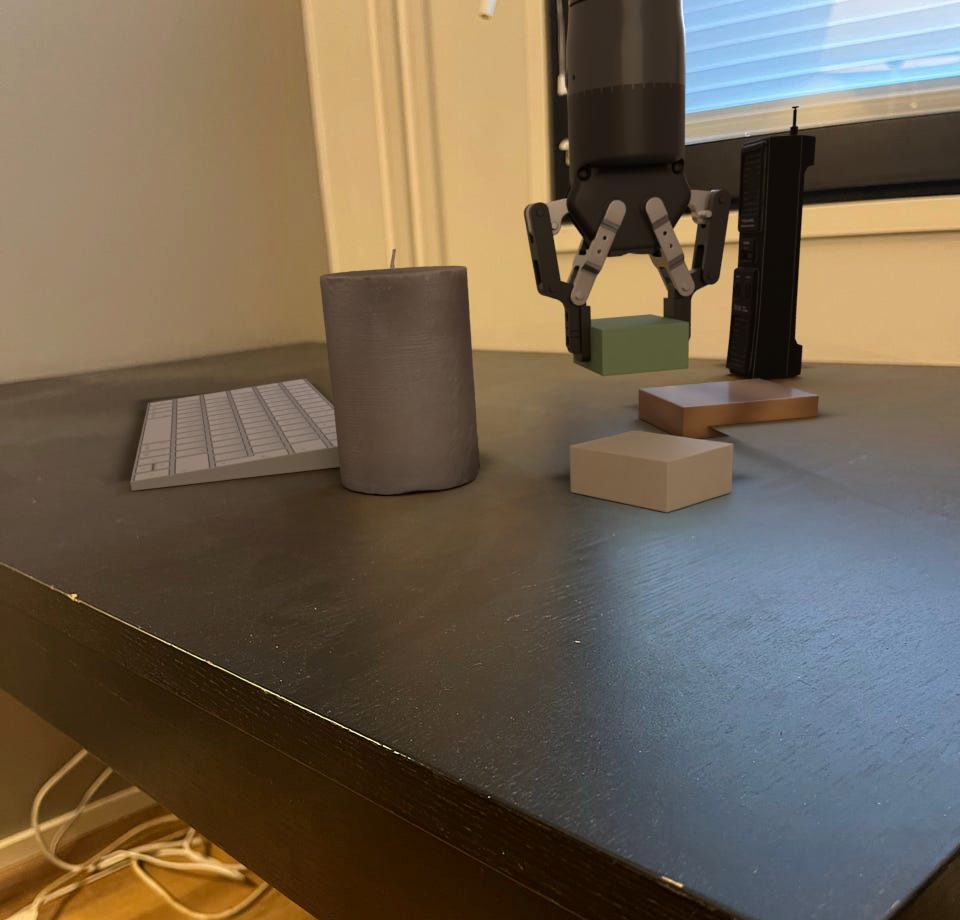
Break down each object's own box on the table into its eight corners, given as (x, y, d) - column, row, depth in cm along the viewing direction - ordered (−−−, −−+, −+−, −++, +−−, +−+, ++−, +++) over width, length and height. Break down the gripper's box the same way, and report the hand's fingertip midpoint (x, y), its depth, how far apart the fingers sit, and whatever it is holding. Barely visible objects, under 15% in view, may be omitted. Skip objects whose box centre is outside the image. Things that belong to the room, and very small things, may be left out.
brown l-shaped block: (757, 407, 87) (759, 378, 86) (817, 427, 77) (819, 395, 76) (638, 417, 86) (638, 388, 85) (682, 440, 76) (683, 407, 75)
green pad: (651, 356, 74) (651, 314, 72) (688, 368, 66) (689, 322, 65) (573, 362, 73) (571, 320, 72) (602, 376, 66) (601, 329, 64)
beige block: (634, 474, 66) (634, 430, 65) (732, 492, 60) (733, 443, 59) (570, 492, 63) (568, 445, 61) (667, 513, 57) (667, 461, 56)
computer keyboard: (149, 408, 109) (146, 392, 108) (317, 392, 113) (315, 377, 112) (114, 492, 70) (110, 469, 70) (372, 464, 74) (370, 442, 74)
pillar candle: (401, 459, 75) (383, 248, 69) (507, 470, 70) (496, 242, 64) (311, 488, 68) (282, 255, 62) (421, 502, 62) (400, 248, 57)
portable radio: (720, 372, 109) (728, 118, 99) (773, 368, 109) (786, 114, 100) (745, 381, 101) (757, 108, 92) (802, 377, 102) (819, 104, 92)
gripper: (527, 84, 59) (540, 372, 65) (756, 70, 60) (747, 353, 67) (504, 100, 65) (518, 360, 72) (711, 88, 67) (706, 343, 74)
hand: (628, 355), depth 69 cm, fingers closed on green pad, 6 cm apart
